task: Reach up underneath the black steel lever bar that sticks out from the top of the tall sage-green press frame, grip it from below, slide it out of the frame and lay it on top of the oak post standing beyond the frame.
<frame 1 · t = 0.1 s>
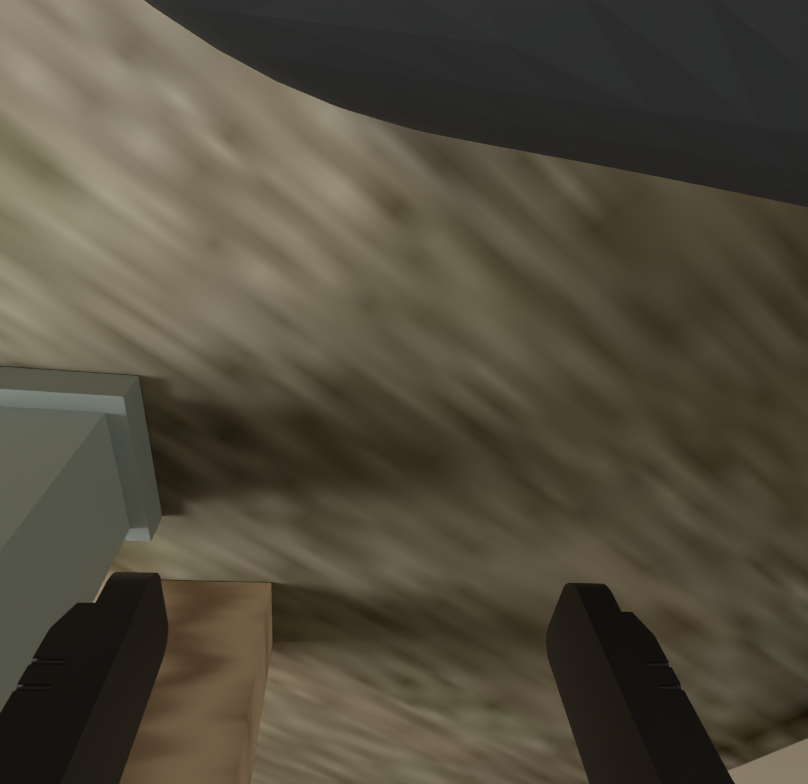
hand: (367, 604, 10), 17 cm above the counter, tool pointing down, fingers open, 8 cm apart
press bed: (200, 613, 37), on the counter
press frame: (37, 446, 29), on the counter
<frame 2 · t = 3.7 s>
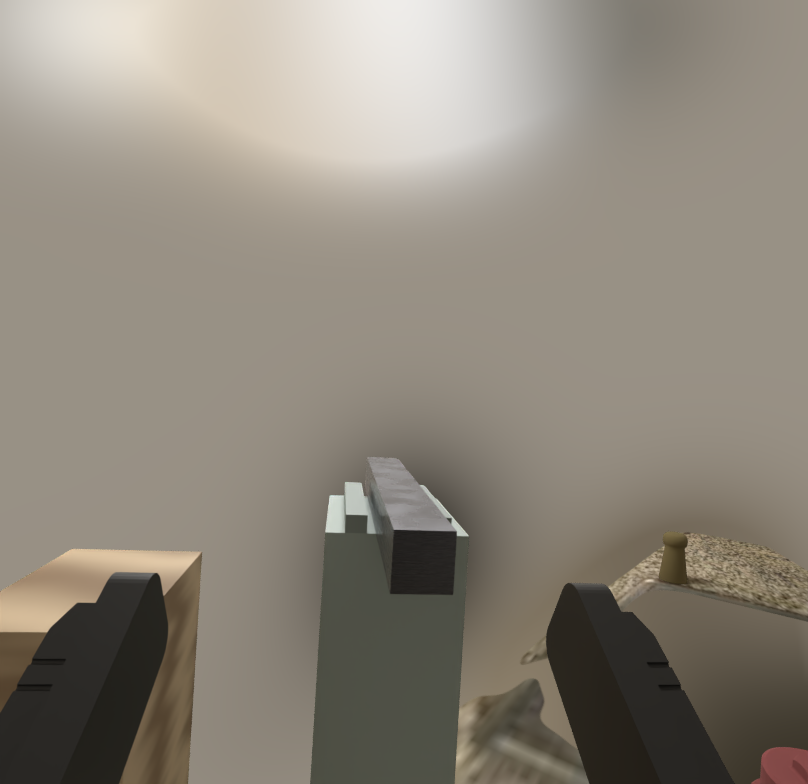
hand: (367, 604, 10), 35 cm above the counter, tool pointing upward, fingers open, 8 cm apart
cork: (672, 580, 122), on the counter
lever bar: (393, 522, 31), point 32 cm above the counter, touching press frame
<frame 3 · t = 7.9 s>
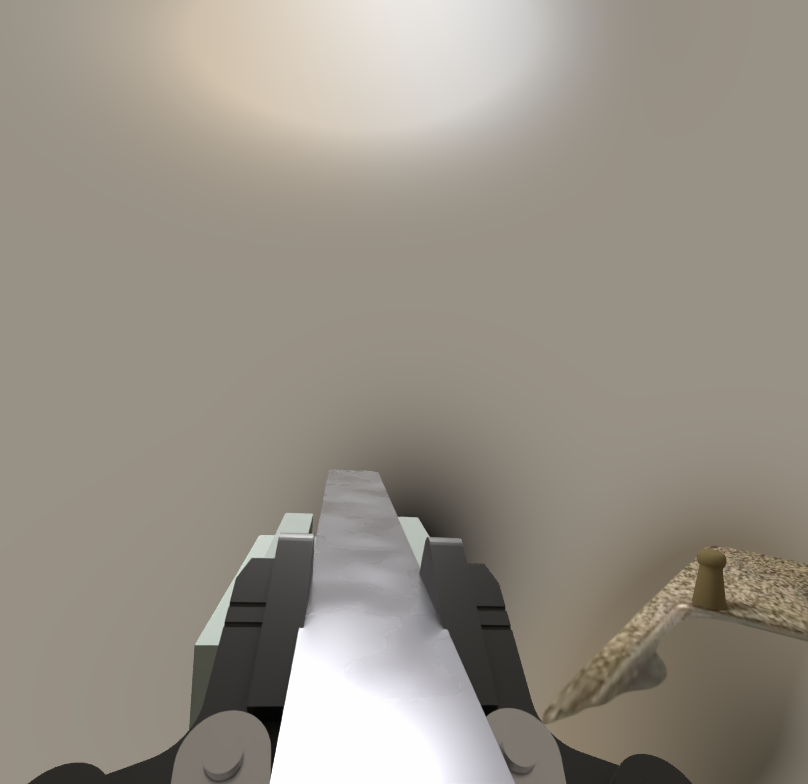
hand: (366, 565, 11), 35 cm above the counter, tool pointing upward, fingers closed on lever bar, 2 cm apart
cork: (708, 605, 106), on the counter
lever bar: (355, 606, 16), point 32 cm above the counter, touching gripper, press frame
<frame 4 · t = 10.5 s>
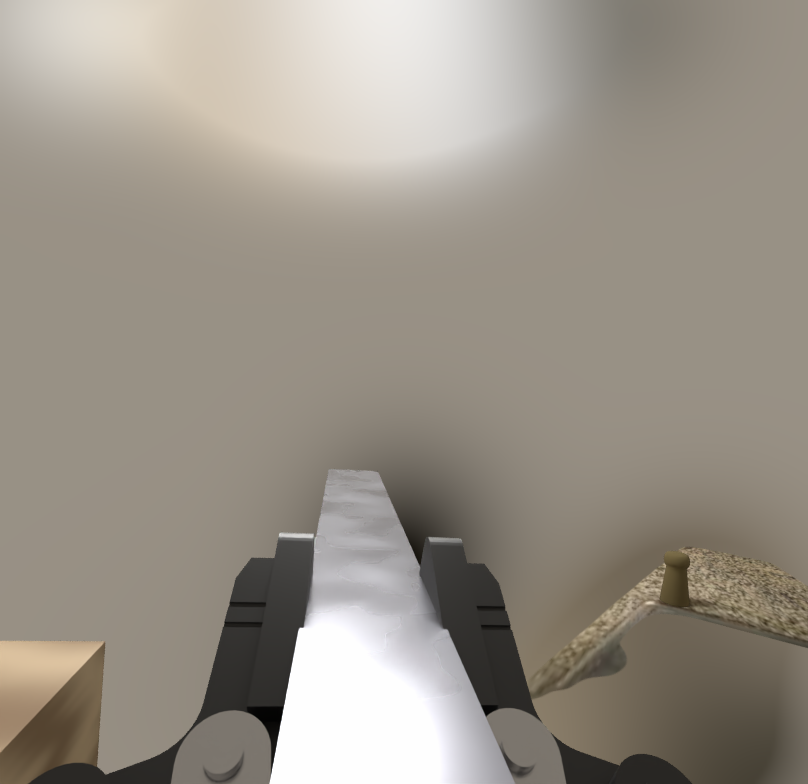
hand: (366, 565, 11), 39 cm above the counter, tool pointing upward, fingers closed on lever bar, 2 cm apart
cork: (674, 602, 116), on the counter
lever bar: (355, 605, 16), point 36 cm above the counter, touching gripper
when the fingers open (34 cm above the counter, at t = 13.2 s): lever bar stays where it is, resting on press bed.
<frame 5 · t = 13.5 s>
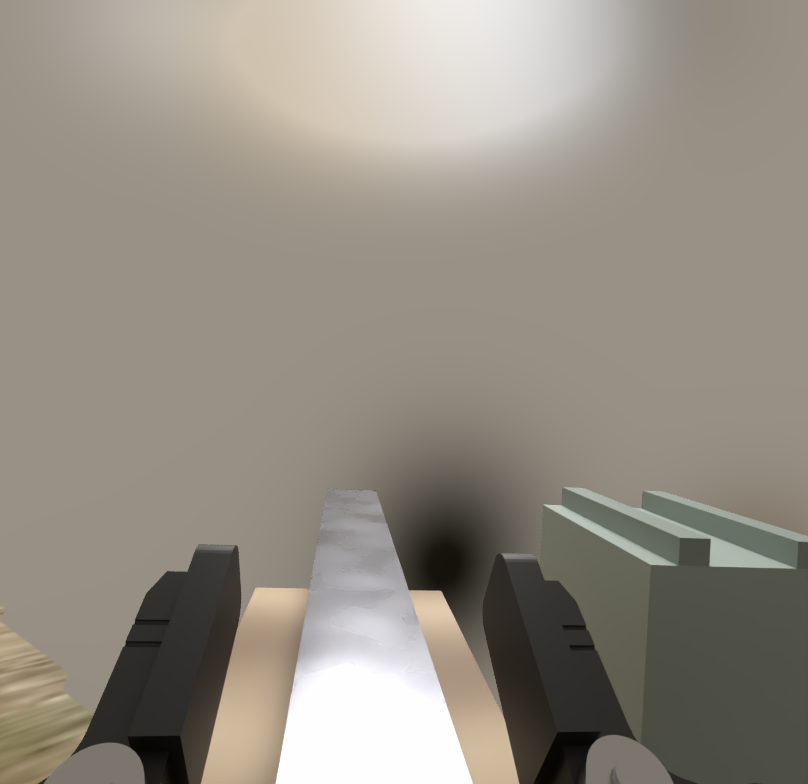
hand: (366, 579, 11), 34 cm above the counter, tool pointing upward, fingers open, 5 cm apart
lever bar: (351, 640, 16), point 30 cm above the counter, touching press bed
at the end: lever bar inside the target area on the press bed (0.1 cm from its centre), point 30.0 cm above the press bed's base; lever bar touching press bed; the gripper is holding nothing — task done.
